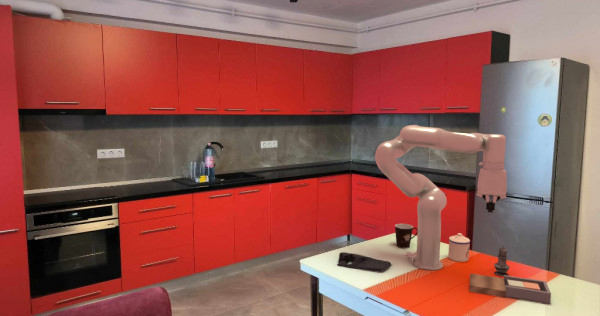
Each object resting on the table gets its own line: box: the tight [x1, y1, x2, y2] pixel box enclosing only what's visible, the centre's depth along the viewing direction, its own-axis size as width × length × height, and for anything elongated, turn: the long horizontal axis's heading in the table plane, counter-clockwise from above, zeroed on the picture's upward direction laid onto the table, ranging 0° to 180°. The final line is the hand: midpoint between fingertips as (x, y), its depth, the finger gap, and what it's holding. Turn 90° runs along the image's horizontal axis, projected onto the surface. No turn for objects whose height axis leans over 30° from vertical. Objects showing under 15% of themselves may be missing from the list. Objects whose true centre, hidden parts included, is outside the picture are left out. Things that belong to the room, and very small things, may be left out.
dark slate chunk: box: [336, 251, 392, 272], centre depth 178 cm, size 15×22×5 cm
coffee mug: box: [394, 223, 418, 249], centre depth 201 cm, size 12×9×10 cm
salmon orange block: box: [523, 282, 540, 291], centre depth 150 cm, size 5×5×3 cm
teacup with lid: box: [448, 232, 471, 263], centre depth 186 cm, size 12×9×12 cm
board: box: [469, 273, 507, 298], centre depth 155 cm, size 12×12×2 cm
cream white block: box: [507, 280, 524, 288], centre depth 152 cm, size 5×5×3 cm
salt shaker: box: [493, 245, 511, 278], centre depth 168 cm, size 6×6×12 cm
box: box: [503, 275, 552, 305], centre depth 150 cm, size 14×11×4 cm
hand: (490, 211), depth 162 cm, fingers closed
